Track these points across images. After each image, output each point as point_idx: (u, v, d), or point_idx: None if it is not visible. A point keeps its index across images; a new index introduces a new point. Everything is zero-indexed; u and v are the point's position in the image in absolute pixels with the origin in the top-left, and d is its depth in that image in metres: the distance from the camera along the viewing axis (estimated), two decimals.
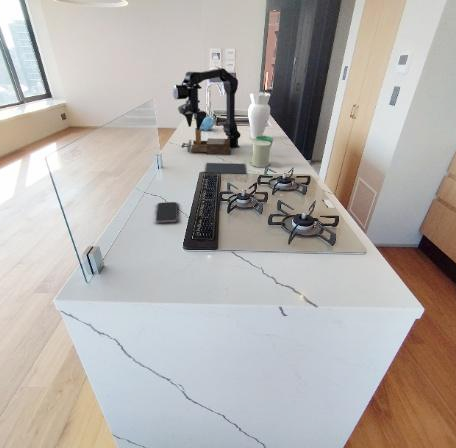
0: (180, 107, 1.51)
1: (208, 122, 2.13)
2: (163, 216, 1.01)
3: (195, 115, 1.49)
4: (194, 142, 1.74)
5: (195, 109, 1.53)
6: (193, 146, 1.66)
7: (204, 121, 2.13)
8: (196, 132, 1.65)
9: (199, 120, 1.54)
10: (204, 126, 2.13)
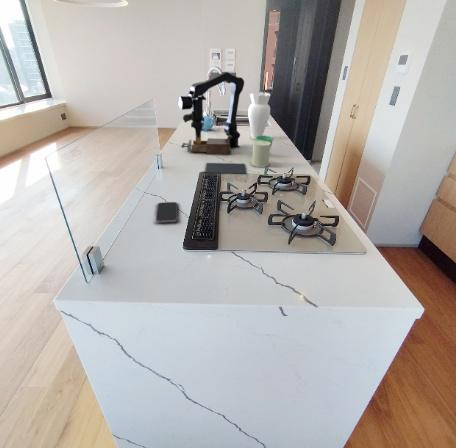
0: None
1: (208, 122, 2.13)
2: (163, 216, 1.01)
3: (191, 124, 1.57)
4: (194, 142, 1.74)
5: (197, 119, 1.60)
6: (193, 146, 1.66)
7: (204, 121, 2.13)
8: None
9: (198, 128, 1.63)
10: (204, 126, 2.13)
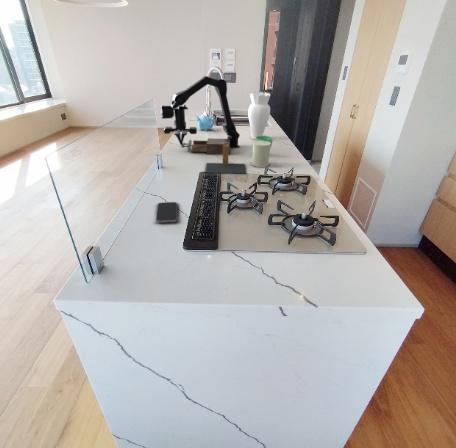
0: None
1: (208, 122, 2.13)
2: (163, 216, 1.01)
3: None
4: (194, 142, 1.74)
5: None
6: (193, 146, 1.66)
7: (204, 121, 2.13)
8: (224, 147, 1.45)
9: None
10: (204, 126, 2.13)
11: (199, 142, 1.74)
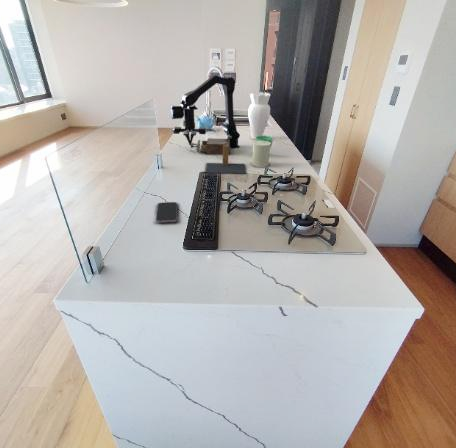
0: None
1: (208, 122, 2.13)
2: (163, 216, 1.01)
3: None
4: (203, 142, 1.74)
5: None
6: (202, 146, 1.66)
7: (204, 121, 2.13)
8: (224, 147, 1.45)
9: None
10: (204, 126, 2.13)
11: None
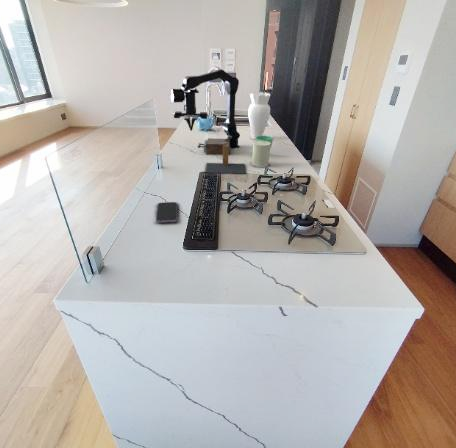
0: None
1: (208, 122, 2.13)
2: (163, 216, 1.01)
3: None
4: None
5: None
6: None
7: (204, 121, 2.13)
8: (224, 147, 1.45)
9: None
10: (204, 126, 2.13)
11: None
